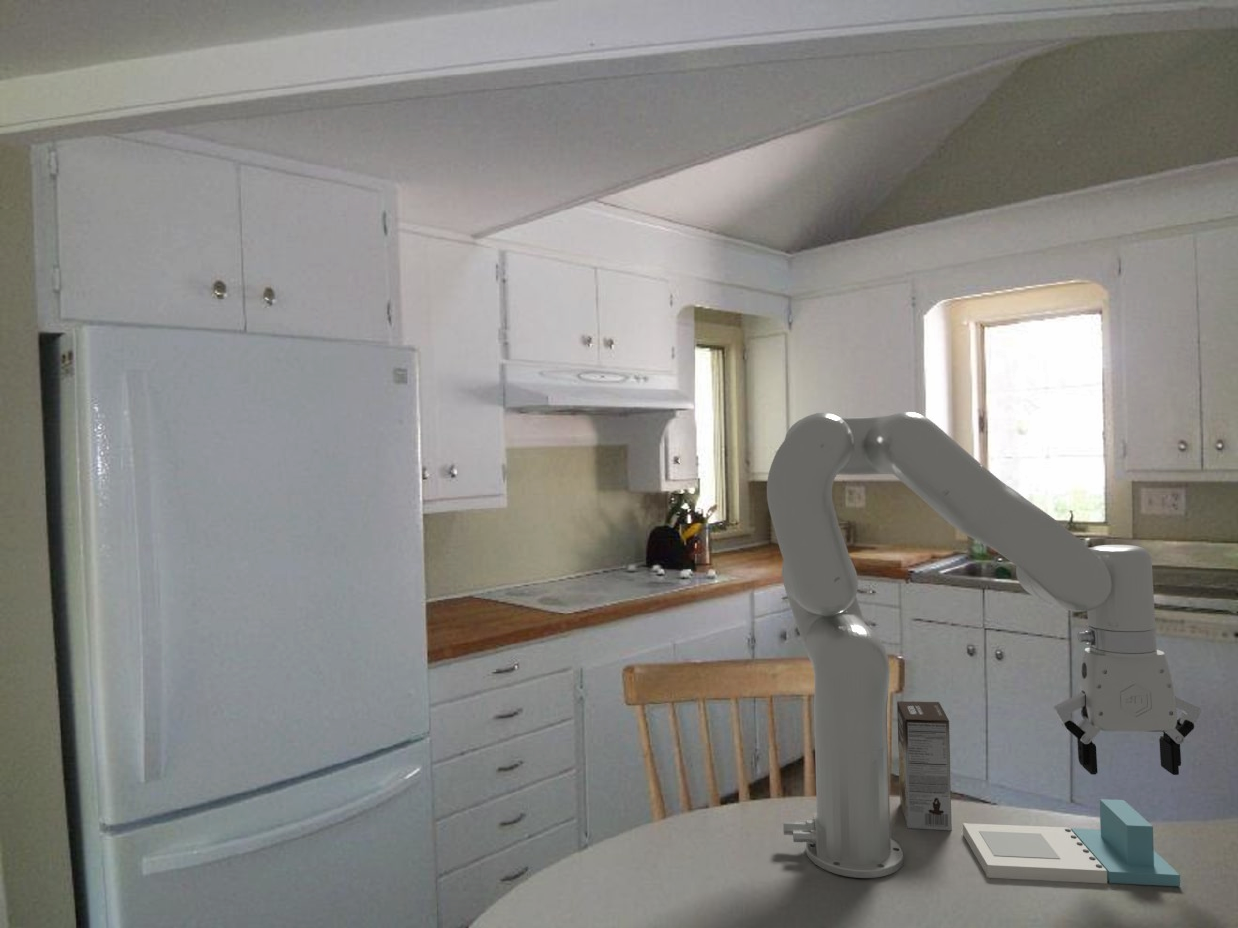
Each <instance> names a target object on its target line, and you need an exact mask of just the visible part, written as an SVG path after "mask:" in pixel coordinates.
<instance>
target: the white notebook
mask: <svg viewBox="0 0 1238 928" xmlns="http://www.w3.org/2000/svg"><path fill="white" fill-rule="evenodd" d="M962 835H963V836H964V839H965V840H966V842H967V844H968V846H969V847H970V849H971V851H972V852H973V855H974V856H975V858H976V859H977V861H978V862H979V864H980V866H981V867H982V868H981V869H982V870H983V871H984V873H985V875H986V877H987V878H991V879H1007V880H1008V879H1010V880H1029V881H1030V880H1031V881H1048V882H1051V881H1052V882H1069V883H1070V882H1071V883H1072V882H1073V883H1088V884H1089V883H1090V884H1092V883H1093V884H1108V880H1107V870H1106V869H1105V868H1104V867H1103V866H1102V865H1101V864H1100V862H1099V861H1098V860H1097V859H1096V858H1095V857H1094V856H1093V854H1092V853H1091V852H1090V851H1089V850H1088V849H1087V848H1086V846H1085V845H1084V844H1083V843H1082V842H1081V841H1080V840H1079V839H1078V837H1077V836H1076V835H1075V834H1074V833H1073V832H1072V831H1071V828H1070V827H1064V826H1063V827H1062V826H1039V825H1035V826H1034V825H1016V824H1015V825H1012V824H1011V825H1010V824H990V823H989V824H988V823H987V824H986V823H967V822H966V823H965V822H963V823H962Z"/></svg>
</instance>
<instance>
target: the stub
mask: <svg viewBox="0 0 1238 928" xmlns="http://www.w3.org/2000/svg"><path fill="white" fill-rule="evenodd" d="M1099 817H1100V818H1099V819H1100V820H1099V823H1100V827H1099V828H1100V829H1094V828H1075V827H1073V828H1070V829H1071V831H1072V832H1073V833H1074V834H1075V835H1076V836H1077V837H1078V839H1079V840H1080V841H1081V842H1082V843H1083V844H1084V845H1085V846H1086V848H1087V849H1088V850H1089V851H1090V852H1091V853H1092V854H1093V856H1094V857H1095V858H1096V859H1097V860H1098V861H1099V862H1100V864H1101V865H1102V866H1103V867H1104V868H1105V869H1106V870H1107V882H1109V884H1124V885H1125V884H1126V885H1142V886H1144V885H1147V886H1163V887H1165V886H1166V887H1167V886H1168V887H1181V875H1180V874H1179V872H1177V870H1176V869H1174V868H1173V867H1172V866H1171V865H1170V864H1169V863H1168V862H1167V861H1166V860H1165V859H1164V858H1163V857H1162V856H1161V855H1159V853H1157V852H1156V850H1154V846H1155V845H1154V826H1153V825H1152V824H1151V823H1150V822H1149V821H1148V820H1147V819H1145V817H1143V816H1142V815H1141V813H1139V812H1138V811H1136V809H1134V808H1133V807H1132V806H1131V805H1130V804H1128V802H1126V801H1125V800H1124V799H1105V798H1103V799H1102V798H1101V799H1100V798H1099Z"/></svg>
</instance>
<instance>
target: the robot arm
mask: <svg viewBox="0 0 1238 928" xmlns="http://www.w3.org/2000/svg"><path fill="white" fill-rule="evenodd" d="M886 474H889V475H891V474H892V475H894V476H895V477H896V479H898V480H900V481H901V483H903V484H904V485H905V486H907V488H908V489H910V490H911V492H912V491H913V493H914V494H916V496H918V497H919V498H920V499H921V500H922V501H924V502H925V503H926V504H928V506H930V507H931V508H932V510H934V512H936V513H937V514H938V515H939V516H940V517H941V518H942V519H944V521H946V522H947V523H948V524H949V525H950V526H952V527H953V528H955V529H956V530H958V531H959V532H960V533H962V534H964V535H966V536H967V537H969V538H971V539H973V540H975V541H977V542H979V543H982V544H983V545H985V546H987V547H988V548H990V549H991V550H993V551H995V552H996V553H998V554H999V555H1001V556H1002V557H1004V558H1005V559H1007V560H1008V561H1009V562H1011V564H1013V565H1014V566H1015V567H1016V570H1015V573H1016V579H1017V581H1018V583H1019V584H1020V586H1021V587H1022V588H1023V590H1025V591H1026V592H1027V593H1028V594H1029V595H1031V596H1033V597H1034V598H1037V599H1039V600H1041V601H1043V602H1046V603H1049V604H1053V605H1055V606H1057V607H1059V608H1062V609H1065V610H1067V611H1069V612H1077V613H1081V612H1082V613H1083V612H1087V625H1086V630H1084V631H1080V632H1079V631H1078V632H1077V640H1078V642H1079V643H1085V644H1087V645H1088V647H1086V648H1084V652H1083V657H1082V662H1081V668H1080V669H1081V670H1080V678H1079V679H1080V681H1079V693H1077V694H1076V695H1073V696H1072V697H1070V698H1068V699H1066V700H1064V701H1062V702H1059V703H1058V704H1056V705H1054V707H1053V711H1054V713H1055V715H1056V716H1057V718H1058V719H1059V721H1060V722H1061V724H1062V726H1063V727H1064V728H1065V729H1067V730H1068V731H1069V732H1070V733H1071V734H1072V735H1073V736H1074V737H1075V738H1076V740H1077V741H1076V742H1077V754H1078V755H1077V756H1078V757H1077V758H1078V762H1079V764H1080V766H1082V768H1083V769H1084V770H1086V771H1087V772H1088V773H1089V774H1090V775H1094V776H1096V775H1097V774H1098V771H1099V770H1098V756H1097V746H1096V744H1095V743H1094V742H1093V740H1094V738H1095V737H1097V735H1098V734H1099V733H1100V732H1107V733H1160V732H1161V733H1162V735H1161V736H1160V738H1159V740H1158V742H1159V755H1160V756H1159V757H1160V759H1159V760H1160V766H1161V768H1163V769H1164V770H1165V771H1166V772H1168V773H1170V774H1171V775H1172V776H1179V775H1180V774H1179V773H1180V771H1179V770H1180V769H1179V767H1180V766H1182V753H1181V745H1182V744H1183V743H1184V742H1185V738H1186V737H1187V736H1188V735H1189V734H1190V733H1191V732H1192V731H1193V730H1194V729H1195V723H1197V721H1198V719H1199V717H1200V714H1201V713H1202V709H1201V708H1200V707H1199V706H1197V705H1195V704H1193V703H1191V702H1188V701H1187V700H1185V699H1182V698H1180V697H1178V696H1175V691H1174V685H1173V684H1174V683H1173V680H1172V676H1171V671H1170V667H1169V663H1168V660H1167V657H1166V654H1165V652H1164V651H1162V650H1159V649H1157V647H1158V646H1157V633H1156V631H1157V630H1156V629H1157V628H1156V614H1155V613H1156V612H1155V599H1154V598H1155V597H1154V581H1153V576H1154V575H1153V563H1152V557H1151V554H1150V552H1149V551H1148V550H1147V549H1146V548H1145V547H1141V546H1138V545H1133V544H1132V545H1130V544H1104V545H1103V544H1101V545H1095V546H1092V547H1089V546H1087V545H1086V544H1085V543H1084V542H1083V541H1081V540H1080V538H1078V537H1077V536H1076V535H1074V533H1072V532H1071V531H1070V530H1069V529H1068V528H1067V527H1066V526H1064V525H1063V524H1061V522H1059V521H1057V520H1056V519H1055V518H1053V516H1051V515H1049V514H1048V513H1047V512H1045V511H1044V510H1043V509H1041V508H1040V507H1039V506H1037V505H1035V504H1033V503H1032V502H1031V501H1029V499H1026V498H1025V497H1024V496H1023V495H1022V494H1020V493H1019V492H1018V491H1016V490H1015V489H1014V488H1012V487H1011V486H1009V485H1008V484H1007V483H1005V482H1003V481H1002V480H1001V479H999V478H998V477H997V476H996V475H994V474H993V473H992V472H991V471H990V470H988V469H987V467H985V466H984V465H983V464H981V463H980V462H979V461H978V460H977V459H975V457H973V456H972V454H970V453H969V452H968V451H966V450H965V449H964V448H963V447H962V446H961V445H960V444H959V443H958V442H956V441H955V440H954V439H953V438H952V437H951V436H949V435H948V434H947V433H946V432H945V431H944V430H943V429H942V428H940V427H939V426H938V425H937V424H936V423H934V422H933V421H932V420H931V419H930V418H928V417H926V416H924V415H923V414H920V413H917V412H912V411H904V412H897V413H894V414H890V415H881V416H864V417H863V416H862V417H860V416H859V417H855V416H854V417H840V416H838V415H835V414H834V413H830V412H829V413H828V412H818V413H817V412H816V413H813V414H810V415H807V416H805V417H803V418H801V419H800V420H797V421H796V422H795V423H794V424H792V425H791V427H789V429H788V431H787V433H786V434H785V437H784V440H783V442H782V443H781V445H780V446H779V447H778V449H777V451H776V452H775V455H774V456H773V460H772V462H771V465H770V468H769V472H768V476H767V479H766V480H767V482H766V499H767V505H768V510H769V515H770V518H771V523H772V525H773V530H774V532H775V537H776V541H777V544H778V546H779V551H780V554H781V556H782V560H783V562H782V567H781V577H782V582H783V587H784V590H785V592H786V596H787V599H788V602H789V605H790V609H791V611H792V614H793V617H794V621H795V624H796V627H797V629H798V633H799V635H800V638H801V642H802V644H803V647H804V650H805V652H806V655H807V657H808V659H809V661H810V663H811V665H812V667H813V674H814V697H813V698H814V700H813V724H814V725H813V731H814V732H813V733H814V748H815V749H814V754H815V756H814V757H815V758H814V759H815V789H816V791H815V793H816V811H814V812H812V818H805V821H797V820H793V819H791V820H789V819H783V820H782V826H783V828H782V831H783V836H792V841H793V842H794V843H805V851H806V852H805V853H806V855H807V858H809V860H810V861H811V862H812V863H814V864H815V865H816V866H817V867H820V869H823V870H824V871H827V872H829V873H833V874H835V875H839V876H843V877H848V878H855V879H875V878H880V877H881V878H883V877H885V876H889V875H892V874H894V873H896V872H897V871H898V870H900V869H901V868H902V866H903V864H904V851H903V848H902V847H901V845H899V843H897V842H896V841H895V840H893V839H892V838H891V816H890V815H891V813H890V812H891V811H890V805H891V804H890V777H889V776H890V775H889V774H890V773H889V769H890V768H889V743H888V738H889V737H888V702H889V688H890V677H891V676H890V675H891V674H890V670H891V669H890V661H889V657H888V652H887V650H886V647H885V646H884V643H883V642H882V641H881V639H880V637H879V636H878V635H877V634H876V633H875V631H874V630H873V629H871V628H870V627H869V626H868V625H867V624H866V622H865V619H864V616H863V614H862V611H861V608H860V605H859V601H858V599H857V594H858V590H859V589H858V588H859V578H858V574H857V570H856V568H855V565H854V563H853V561H852V559H851V556H850V554H849V551H848V547H847V545H846V542H845V539H844V536H843V533H842V529H841V527H840V524H839V521H838V520H839V519H838V517H837V513H836V512H837V511H836V510H835V506H834V501H833V486H834V481H835V479H836V477H837V475H839V476H840V475H843V476H845V475H848V476H849V475H850V476H851V475H855V476H857V475H864V476H865V475H886ZM1079 709H1080V715H1081V717H1082V719H1081V720H1080V722H1079V723H1078V724H1076V723H1075V722H1074V720H1073V718H1072V717H1071V714H1072V713H1073V712H1075V711H1078V710H1079ZM1178 709H1179V710H1181V711H1182V713H1181V717H1179V718H1178V712H1177V711H1178Z"/></svg>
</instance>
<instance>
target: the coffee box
mask: <svg viewBox="0 0 1238 928" xmlns="http://www.w3.org/2000/svg"><path fill="white" fill-rule="evenodd" d="M896 705H897V706H896V707H897V708H896V709H897V743H898V746H897V747H898V771H899V772H898V777H899V780H898V781H899V802H900V806H901V810H902V812H903V816H904V820H905V823H906V826H907V829H917V830H933V831H934V830H935V831H952V830H953V829H952V828H953V826H952V795H951V794H952V790H951V788H952V787H951V748H950V747H951V745H950V744H951V743H950V739H951V737H950V736H951V735H950V720H949V718H948V716H947V715H946V712H945V710H944V708H943V707H942V705H941V703H940V702H939V701H913V700H912V701H907V700H905V701H902V700H901V701H899V700H898V701H897V702H896Z"/></svg>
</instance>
